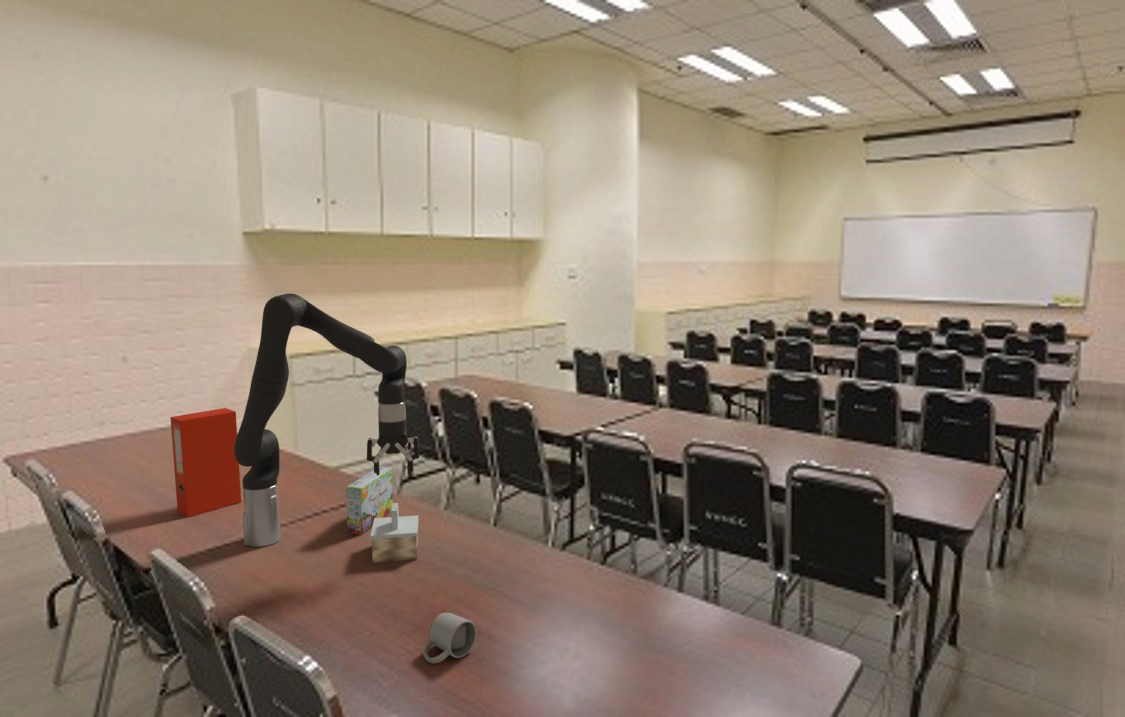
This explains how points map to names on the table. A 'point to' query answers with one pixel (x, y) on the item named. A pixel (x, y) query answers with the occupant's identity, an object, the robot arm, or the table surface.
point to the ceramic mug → (450, 637)
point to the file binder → (205, 461)
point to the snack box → (368, 500)
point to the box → (394, 549)
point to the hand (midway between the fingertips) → (393, 473)
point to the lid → (394, 525)
